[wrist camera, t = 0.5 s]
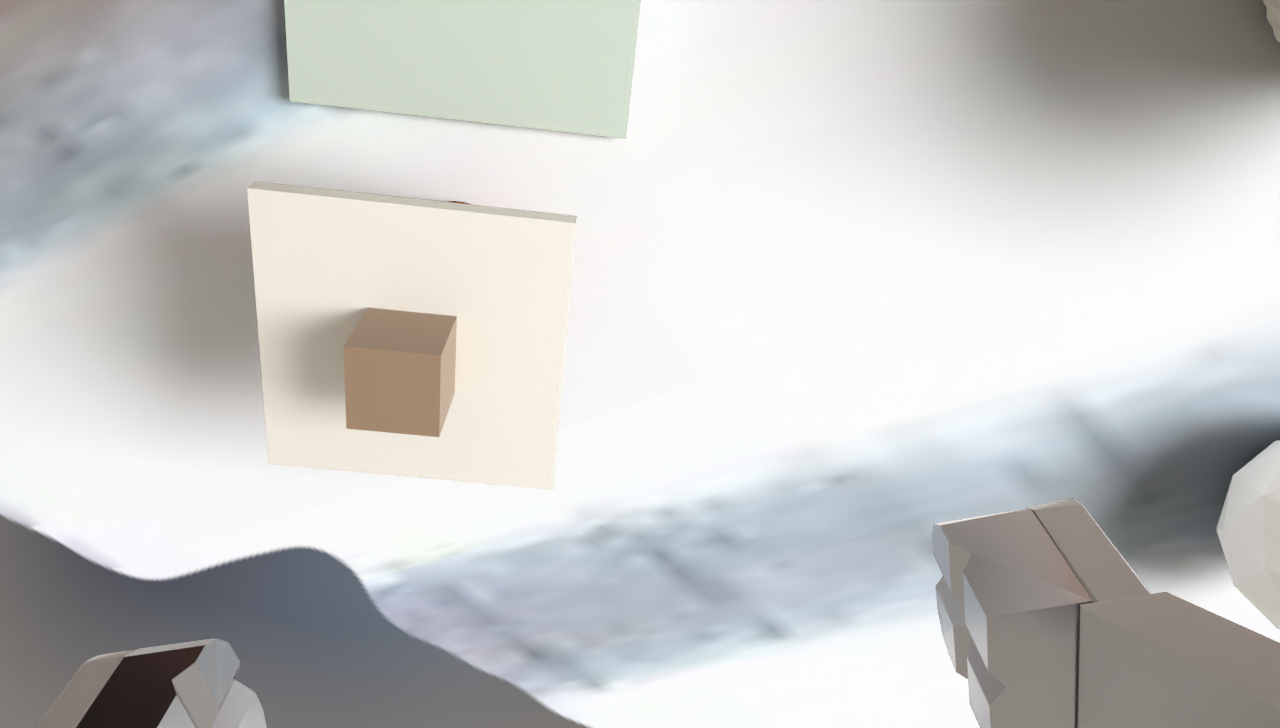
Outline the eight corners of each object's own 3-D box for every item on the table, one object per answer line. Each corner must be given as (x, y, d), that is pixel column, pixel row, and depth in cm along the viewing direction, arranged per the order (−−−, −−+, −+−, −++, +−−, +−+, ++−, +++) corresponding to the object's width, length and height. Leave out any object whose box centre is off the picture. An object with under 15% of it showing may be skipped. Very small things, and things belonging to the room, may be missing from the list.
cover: (255, 181, 41) (209, 217, 36) (576, 215, 42) (570, 255, 37) (275, 453, 47) (237, 512, 43) (553, 478, 48) (546, 539, 43)
